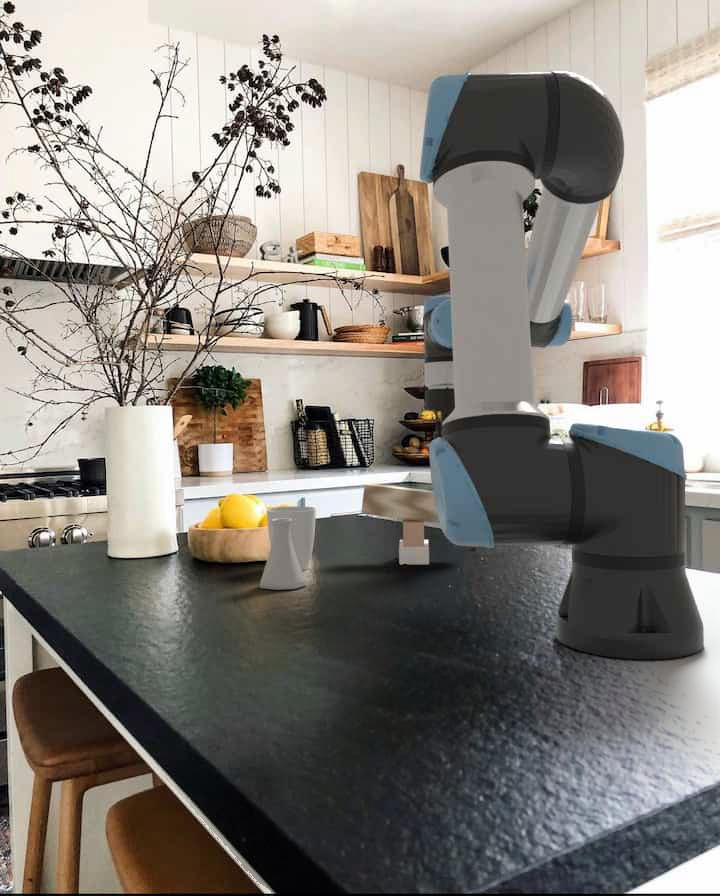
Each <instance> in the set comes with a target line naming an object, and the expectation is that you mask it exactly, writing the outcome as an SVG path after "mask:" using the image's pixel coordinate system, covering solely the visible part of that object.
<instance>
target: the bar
mask: <svg viewBox="0 0 720 896" xmlns="http://www.w3.org/2000/svg"><path fill="white" fill-rule="evenodd" d="M360 514H363V515H371V516H377V517H388V518H393V519H402V520H404V519H409V520H416V521H424V523H434V524H440V521H439V518H438V513H437V509H436V504H435V499H434V493H433V490H426V489H419V488H411V487H401V486H395V485H387V484H380V483H379V484H377V483H371V482H365V484H364V487H363V494H362V503H361V510H360Z"/></svg>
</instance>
